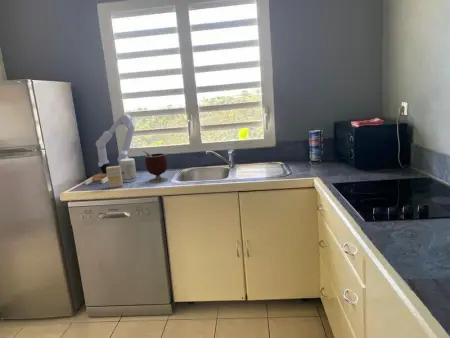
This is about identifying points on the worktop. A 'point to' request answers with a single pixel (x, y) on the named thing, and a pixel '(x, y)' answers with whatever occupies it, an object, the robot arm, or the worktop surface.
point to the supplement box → (114, 176)
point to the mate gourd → (156, 166)
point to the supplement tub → (128, 170)
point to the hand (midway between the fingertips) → (105, 174)
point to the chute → (93, 180)
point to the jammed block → (99, 177)
